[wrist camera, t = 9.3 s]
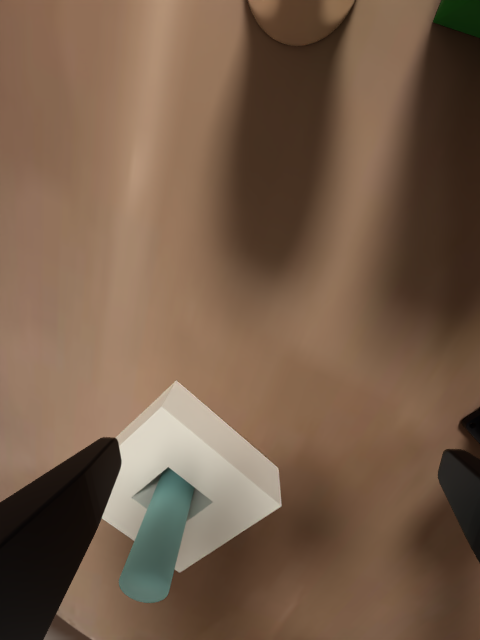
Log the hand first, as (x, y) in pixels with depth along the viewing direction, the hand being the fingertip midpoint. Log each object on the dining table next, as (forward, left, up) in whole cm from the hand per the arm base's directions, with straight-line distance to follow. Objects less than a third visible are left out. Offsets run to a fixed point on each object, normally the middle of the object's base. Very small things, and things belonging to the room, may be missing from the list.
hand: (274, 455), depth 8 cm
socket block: (-5, +15, -13) cm, 20 cm away
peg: (-5, +15, -13) cm, 20 cm away
